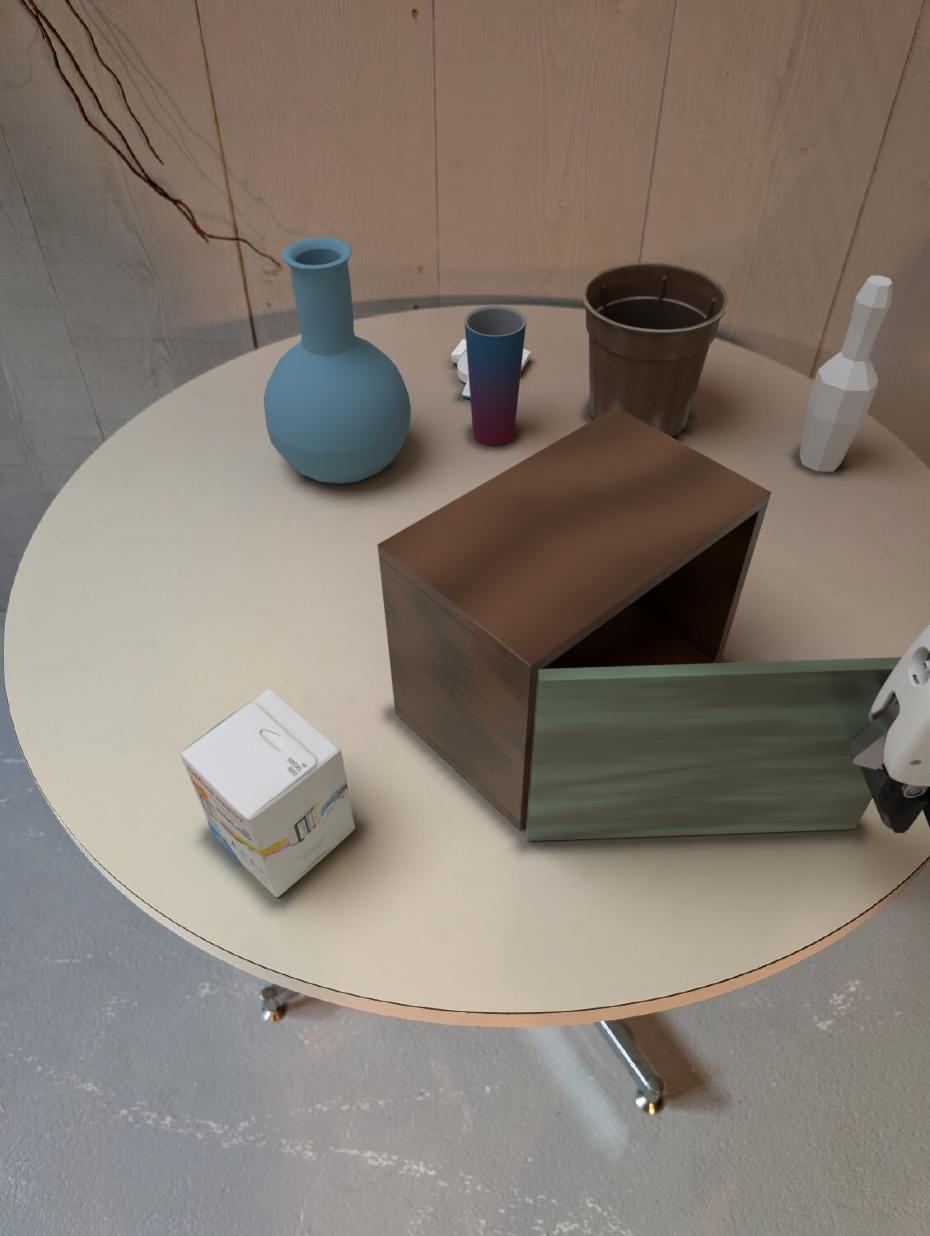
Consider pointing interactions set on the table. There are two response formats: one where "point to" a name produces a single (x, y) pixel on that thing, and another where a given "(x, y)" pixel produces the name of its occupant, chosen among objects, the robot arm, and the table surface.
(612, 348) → the plant pot
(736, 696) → the cupboard door
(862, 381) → the low poly bottle
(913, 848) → the table surface
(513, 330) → the cup
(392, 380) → the vase
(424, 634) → the cupboard
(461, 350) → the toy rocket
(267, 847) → the ink box
